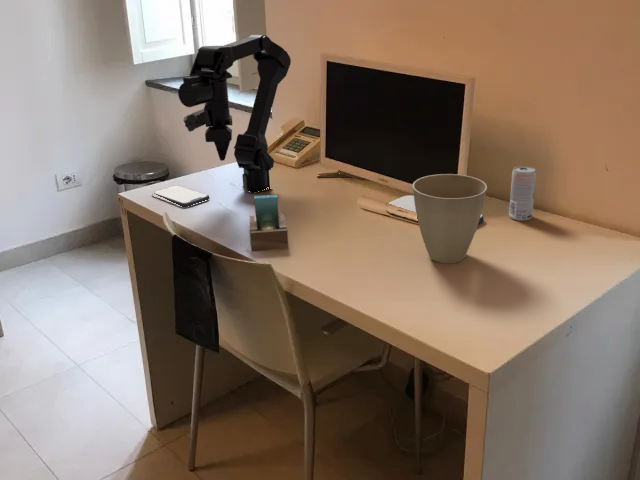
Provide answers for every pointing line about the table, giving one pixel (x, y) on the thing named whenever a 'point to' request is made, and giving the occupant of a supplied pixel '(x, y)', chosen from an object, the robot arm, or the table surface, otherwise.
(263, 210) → the teal upright block
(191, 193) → the phone case
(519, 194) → the energy drink
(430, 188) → the plant pot
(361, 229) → the table surface
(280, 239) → the walnut track with socket
